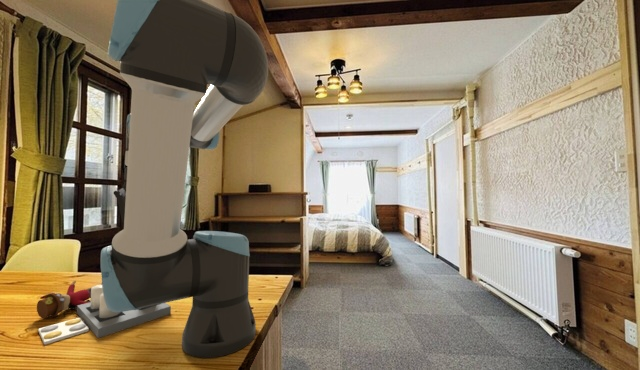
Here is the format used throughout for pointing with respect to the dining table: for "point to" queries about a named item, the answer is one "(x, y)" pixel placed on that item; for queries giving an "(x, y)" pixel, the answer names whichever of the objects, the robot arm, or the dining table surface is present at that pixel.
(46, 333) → the card
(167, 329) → the dining table surface
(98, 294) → the button far left
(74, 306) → the toy
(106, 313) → the button near left
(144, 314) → the board
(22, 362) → the dining table surface
